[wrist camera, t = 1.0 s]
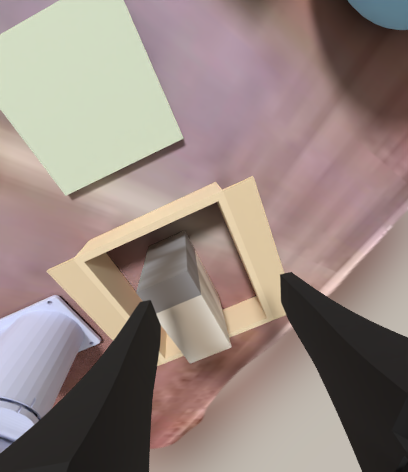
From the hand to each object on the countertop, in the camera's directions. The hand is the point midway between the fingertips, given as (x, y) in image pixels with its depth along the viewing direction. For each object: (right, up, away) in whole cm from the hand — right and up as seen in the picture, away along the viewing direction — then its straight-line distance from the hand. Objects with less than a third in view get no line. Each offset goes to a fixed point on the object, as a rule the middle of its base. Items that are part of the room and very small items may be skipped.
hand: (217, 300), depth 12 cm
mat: (-9, +13, +4) cm, 17 cm away
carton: (-3, 0, +11) cm, 12 cm away
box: (-3, 0, +11) cm, 12 cm away
